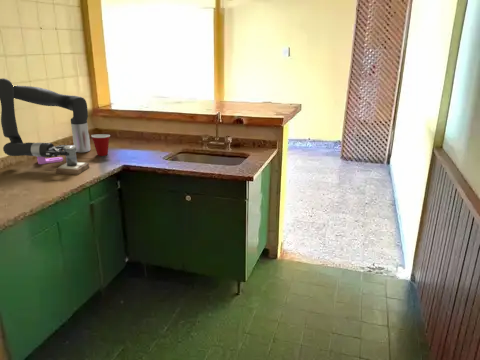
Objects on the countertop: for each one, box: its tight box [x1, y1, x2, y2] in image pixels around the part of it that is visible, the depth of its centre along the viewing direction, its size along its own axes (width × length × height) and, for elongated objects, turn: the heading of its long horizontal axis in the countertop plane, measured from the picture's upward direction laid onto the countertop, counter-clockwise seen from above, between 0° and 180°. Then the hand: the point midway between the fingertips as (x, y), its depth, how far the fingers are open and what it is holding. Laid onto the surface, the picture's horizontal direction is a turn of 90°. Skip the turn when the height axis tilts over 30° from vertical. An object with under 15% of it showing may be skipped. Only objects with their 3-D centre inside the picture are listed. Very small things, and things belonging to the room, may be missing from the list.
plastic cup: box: [90, 133, 111, 157], centre depth 246 cm, size 11×11×12 cm
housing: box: [64, 144, 78, 166], centre depth 216 cm, size 5×5×10 cm
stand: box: [55, 161, 90, 175], centre depth 218 cm, size 12×12×3 cm
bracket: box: [36, 156, 64, 165], centre depth 232 cm, size 13×6×7 cm, turn 119°
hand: (71, 151), depth 215 cm, fingers open, 8 cm apart
